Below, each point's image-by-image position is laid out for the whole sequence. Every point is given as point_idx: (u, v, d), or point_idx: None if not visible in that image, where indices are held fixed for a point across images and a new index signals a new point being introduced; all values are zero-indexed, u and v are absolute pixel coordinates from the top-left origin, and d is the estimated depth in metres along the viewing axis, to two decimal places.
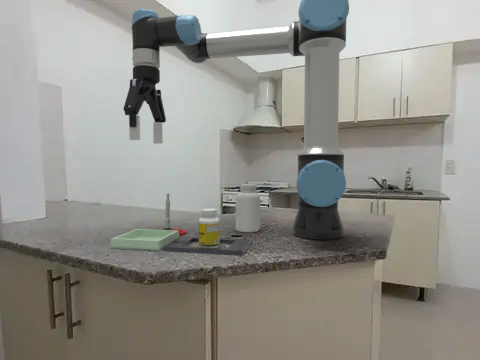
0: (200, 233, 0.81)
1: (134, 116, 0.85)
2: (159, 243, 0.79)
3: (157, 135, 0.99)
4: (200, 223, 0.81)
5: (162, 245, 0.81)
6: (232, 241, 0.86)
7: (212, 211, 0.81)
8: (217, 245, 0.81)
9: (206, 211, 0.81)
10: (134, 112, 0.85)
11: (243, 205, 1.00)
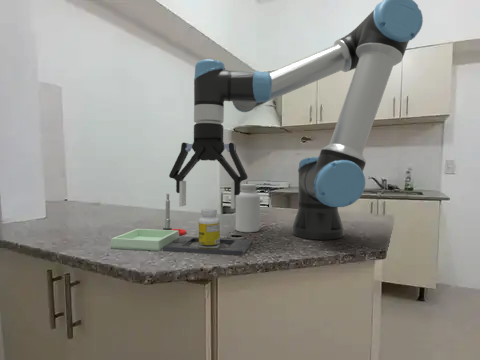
0: (200, 233, 0.81)
1: (177, 182, 0.83)
2: (159, 243, 0.79)
3: None
4: (200, 223, 0.81)
5: (162, 245, 0.81)
6: (232, 241, 0.86)
7: (212, 211, 0.81)
8: (217, 245, 0.81)
9: (206, 211, 0.81)
10: (175, 178, 0.83)
11: (243, 205, 1.00)
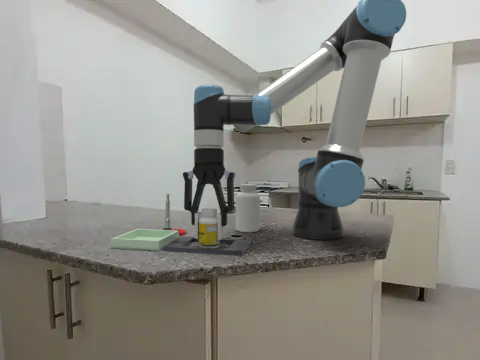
0: (200, 233, 0.81)
1: (192, 214, 0.83)
2: (159, 243, 0.79)
3: None
4: (200, 223, 0.81)
5: (162, 245, 0.81)
6: (232, 241, 0.86)
7: (212, 211, 0.81)
8: (217, 245, 0.81)
9: (206, 211, 0.81)
10: (190, 210, 0.82)
11: (243, 205, 1.00)
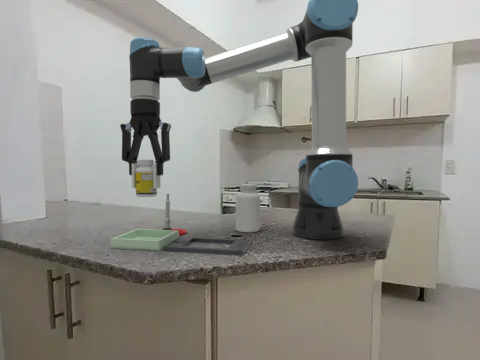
0: (136, 182, 0.84)
1: (130, 165, 0.86)
2: (159, 243, 0.79)
3: None
4: (136, 172, 0.84)
5: (162, 245, 0.81)
6: (232, 241, 0.86)
7: (147, 160, 0.84)
8: (153, 194, 0.84)
9: (141, 160, 0.83)
10: (128, 161, 0.85)
11: (243, 205, 1.00)
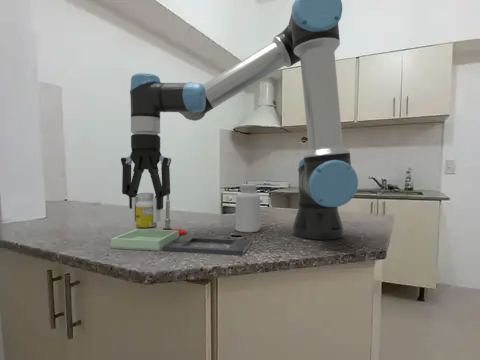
0: (136, 216, 0.84)
1: (130, 198, 0.86)
2: (159, 243, 0.79)
3: None
4: (136, 206, 0.84)
5: (162, 245, 0.81)
6: (232, 241, 0.86)
7: (148, 195, 0.84)
8: (153, 227, 0.85)
9: (142, 195, 0.84)
10: None
11: (243, 205, 1.00)
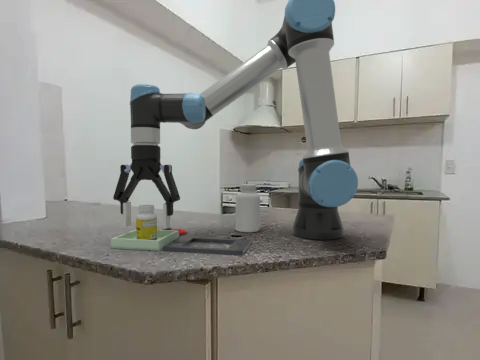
0: (137, 228, 0.85)
1: (121, 204, 0.87)
2: (159, 243, 0.79)
3: None
4: (136, 218, 0.84)
5: (162, 245, 0.81)
6: (232, 241, 0.86)
7: (148, 207, 0.84)
8: None
9: (142, 207, 0.84)
10: (119, 200, 0.86)
11: (243, 205, 1.00)
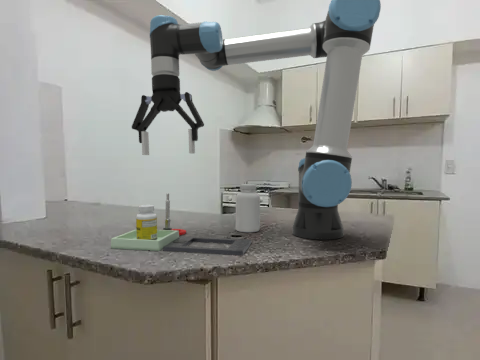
0: (137, 228, 0.85)
1: (139, 133, 0.89)
2: (159, 243, 0.79)
3: None
4: (136, 218, 0.84)
5: (162, 245, 0.81)
6: (232, 241, 0.86)
7: (148, 207, 0.84)
8: None
9: (142, 207, 0.84)
10: (138, 129, 0.89)
11: (243, 205, 1.00)
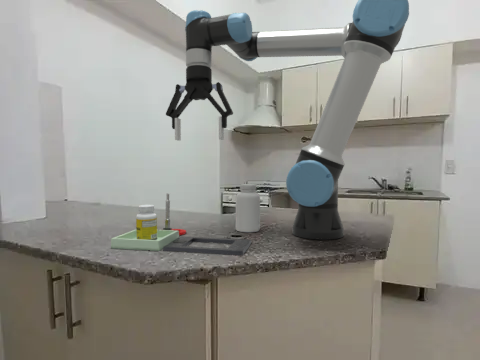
0: (137, 228, 0.85)
1: (173, 119, 0.96)
2: (159, 243, 0.79)
3: None
4: (136, 218, 0.84)
5: (162, 245, 0.81)
6: (232, 241, 0.86)
7: (148, 207, 0.84)
8: None
9: (142, 207, 0.84)
10: None
11: (243, 205, 1.00)
